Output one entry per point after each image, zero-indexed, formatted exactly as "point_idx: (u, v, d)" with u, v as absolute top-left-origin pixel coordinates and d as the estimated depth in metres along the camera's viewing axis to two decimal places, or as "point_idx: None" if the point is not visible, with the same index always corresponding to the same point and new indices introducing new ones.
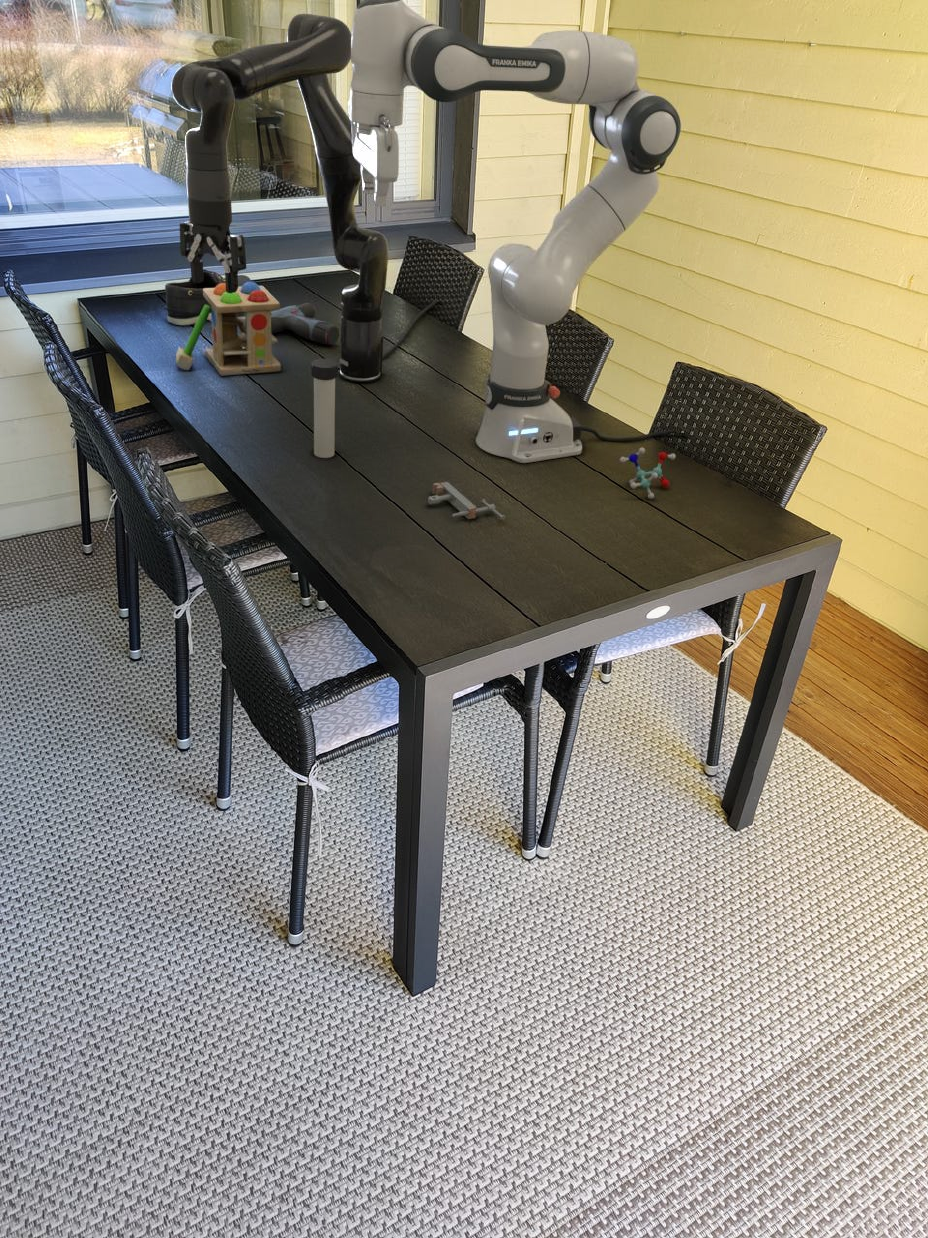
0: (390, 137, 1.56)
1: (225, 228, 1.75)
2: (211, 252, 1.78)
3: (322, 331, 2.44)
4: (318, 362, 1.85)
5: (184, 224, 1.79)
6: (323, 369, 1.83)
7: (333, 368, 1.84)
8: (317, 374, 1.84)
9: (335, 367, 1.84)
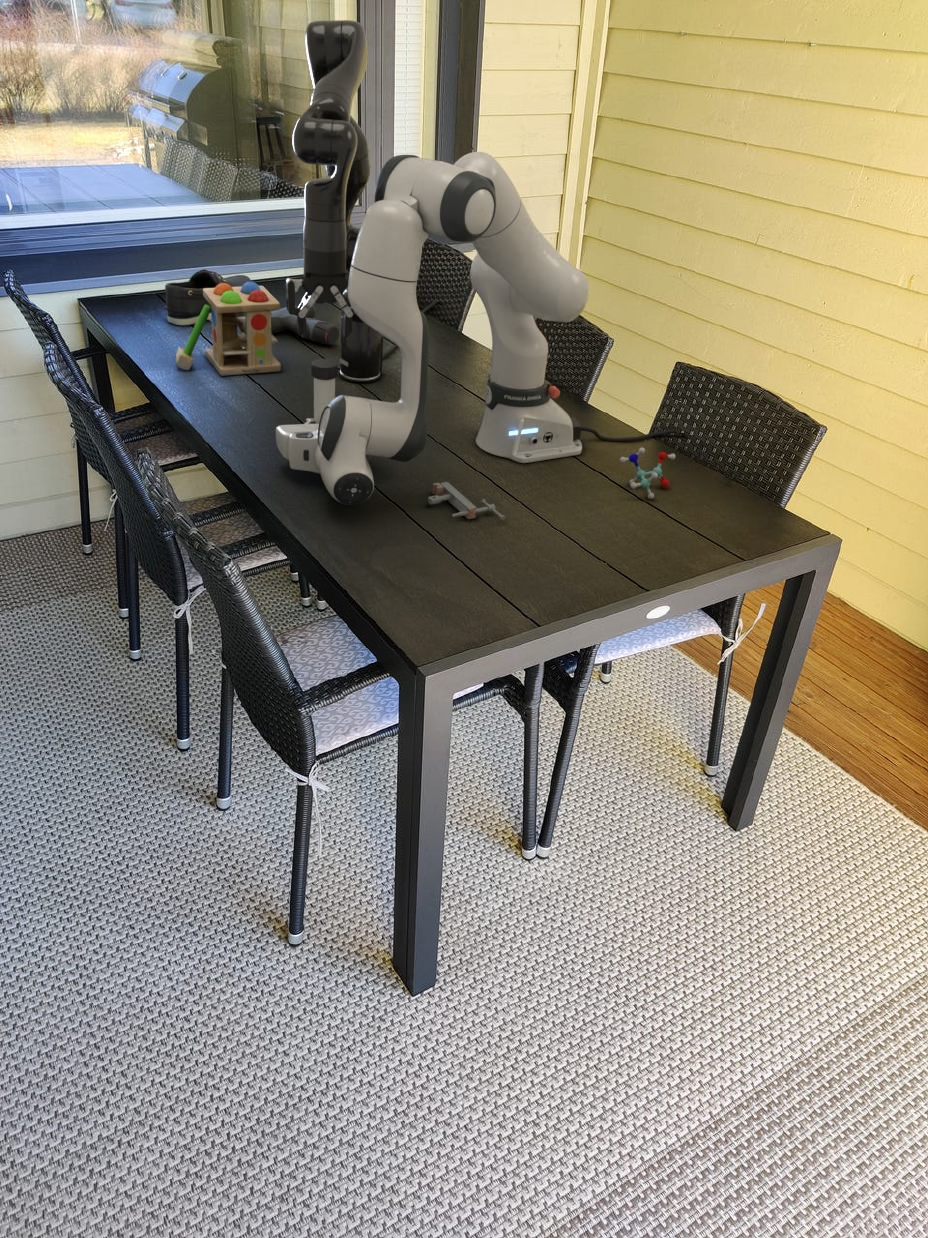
0: None
1: (345, 273, 1.77)
2: (330, 300, 1.78)
3: (322, 331, 2.44)
4: (318, 362, 1.85)
5: (293, 281, 1.74)
6: (323, 369, 1.83)
7: (333, 368, 1.84)
8: (317, 374, 1.84)
9: (335, 367, 1.84)
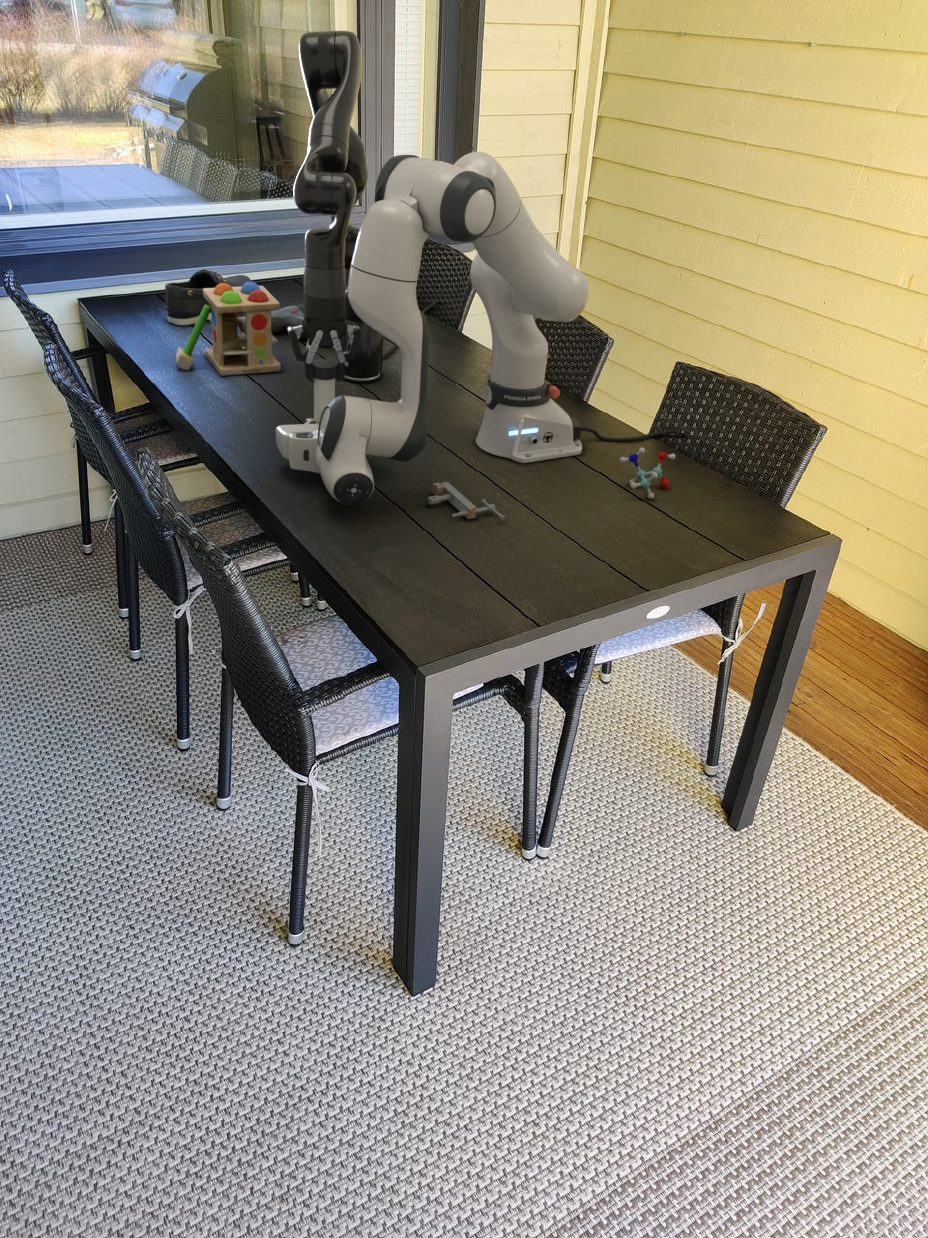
0: None
1: (344, 317, 1.81)
2: (329, 344, 1.82)
3: None
4: (318, 362, 1.85)
5: (293, 330, 1.79)
6: (323, 369, 1.83)
7: (333, 368, 1.84)
8: (317, 374, 1.84)
9: (335, 367, 1.84)
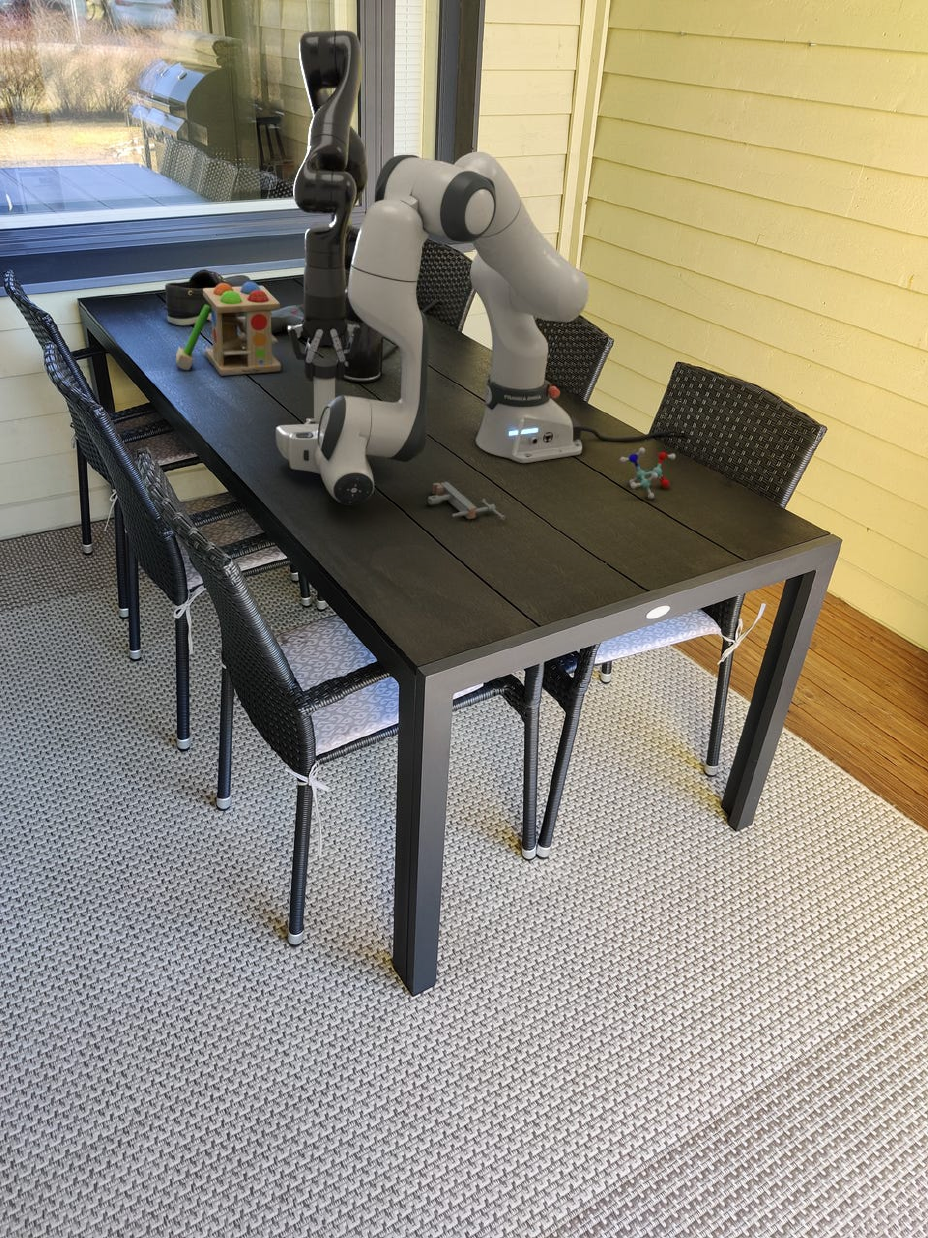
0: None
1: (345, 316, 1.81)
2: (329, 343, 1.82)
3: None
4: (321, 364, 1.84)
5: (293, 329, 1.79)
6: (335, 367, 1.84)
7: None
8: (331, 374, 1.84)
9: None
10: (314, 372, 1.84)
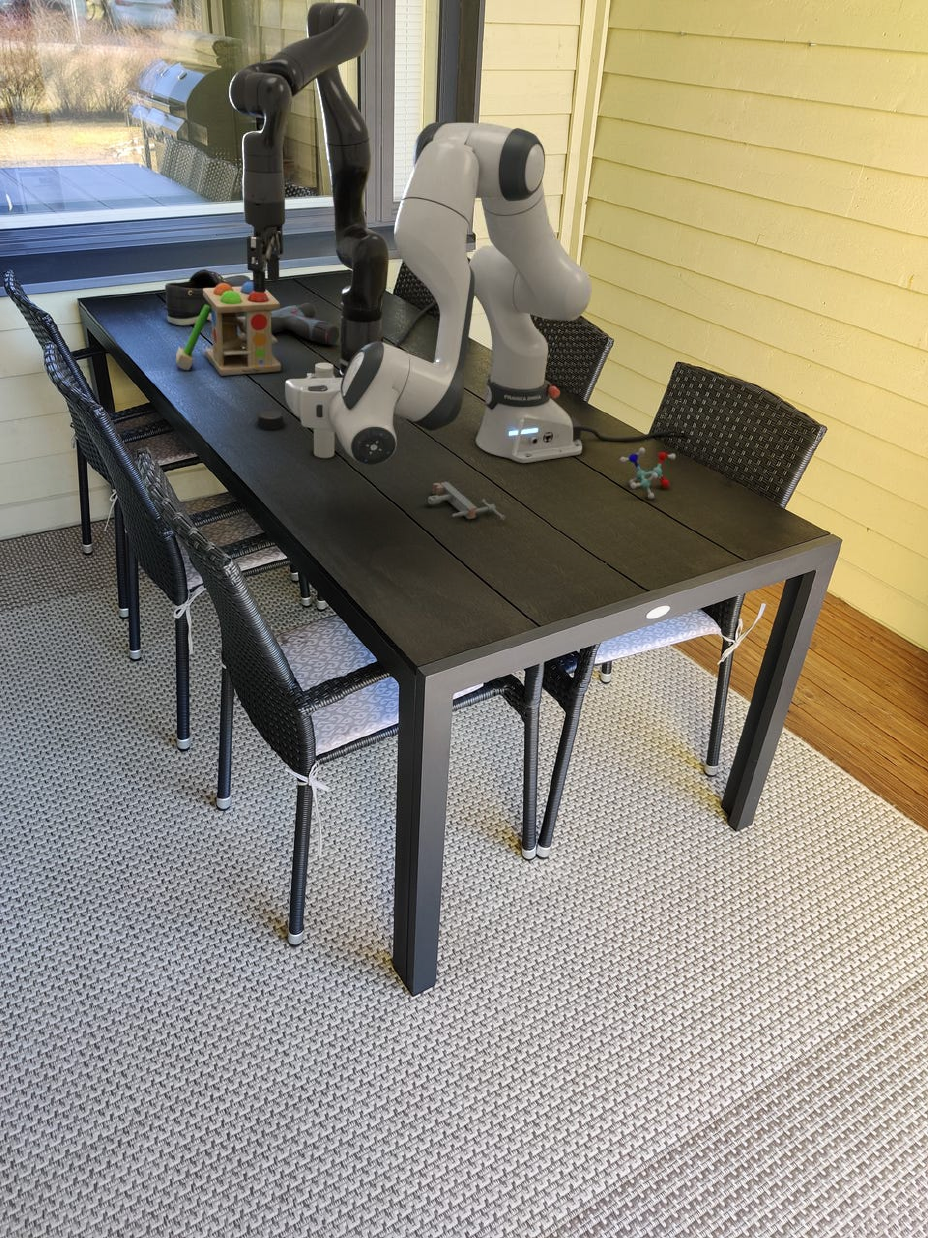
0: None
1: None
2: (272, 249, 1.85)
3: (322, 331, 2.44)
4: (273, 416, 2.03)
5: (260, 238, 1.78)
6: None
7: None
8: (282, 420, 2.05)
9: None
10: (272, 425, 2.02)
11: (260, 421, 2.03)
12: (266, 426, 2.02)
